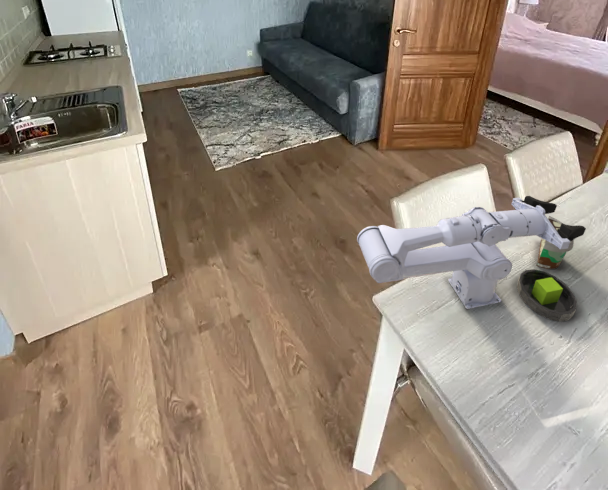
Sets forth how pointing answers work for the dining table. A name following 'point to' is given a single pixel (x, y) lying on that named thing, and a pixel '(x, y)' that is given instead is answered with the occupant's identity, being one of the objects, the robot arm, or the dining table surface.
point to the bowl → (550, 311)
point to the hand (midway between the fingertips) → (568, 218)
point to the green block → (547, 291)
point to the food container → (551, 250)
